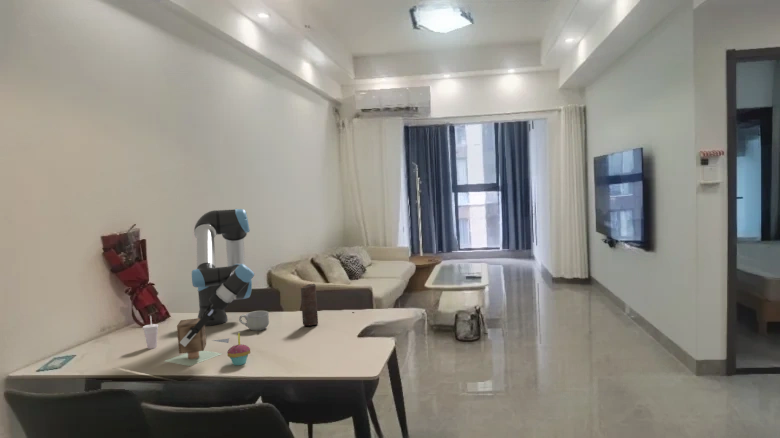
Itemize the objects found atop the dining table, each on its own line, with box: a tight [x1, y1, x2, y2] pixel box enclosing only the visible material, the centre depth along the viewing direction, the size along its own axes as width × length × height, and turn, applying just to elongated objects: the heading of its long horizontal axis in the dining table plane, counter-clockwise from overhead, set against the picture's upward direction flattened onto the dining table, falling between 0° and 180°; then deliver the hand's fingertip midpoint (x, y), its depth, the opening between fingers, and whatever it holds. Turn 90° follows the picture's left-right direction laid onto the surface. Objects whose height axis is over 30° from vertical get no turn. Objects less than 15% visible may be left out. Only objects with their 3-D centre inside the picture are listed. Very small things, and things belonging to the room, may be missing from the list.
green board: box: [164, 350, 223, 367], centre depth 208 cm, size 16×16×1 cm
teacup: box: [238, 310, 270, 332], centre depth 250 cm, size 14×11×8 cm
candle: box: [300, 283, 319, 327], centre depth 251 cm, size 8×7×20 cm
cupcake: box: [226, 332, 251, 366], centre depth 198 cm, size 9×8×12 cm
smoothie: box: [142, 315, 159, 350], centre depth 228 cm, size 6×6×14 cm
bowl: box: [188, 351, 199, 359], centre depth 208 cm, size 4×4×3 cm
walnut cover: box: [176, 317, 207, 355], centre depth 207 cm, size 9×10×11 cm
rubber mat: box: [211, 338, 230, 344], centre depth 227 cm, size 16×12×1 cm
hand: (184, 340), depth 207 cm, fingers closed on walnut cover, 10 cm apart
